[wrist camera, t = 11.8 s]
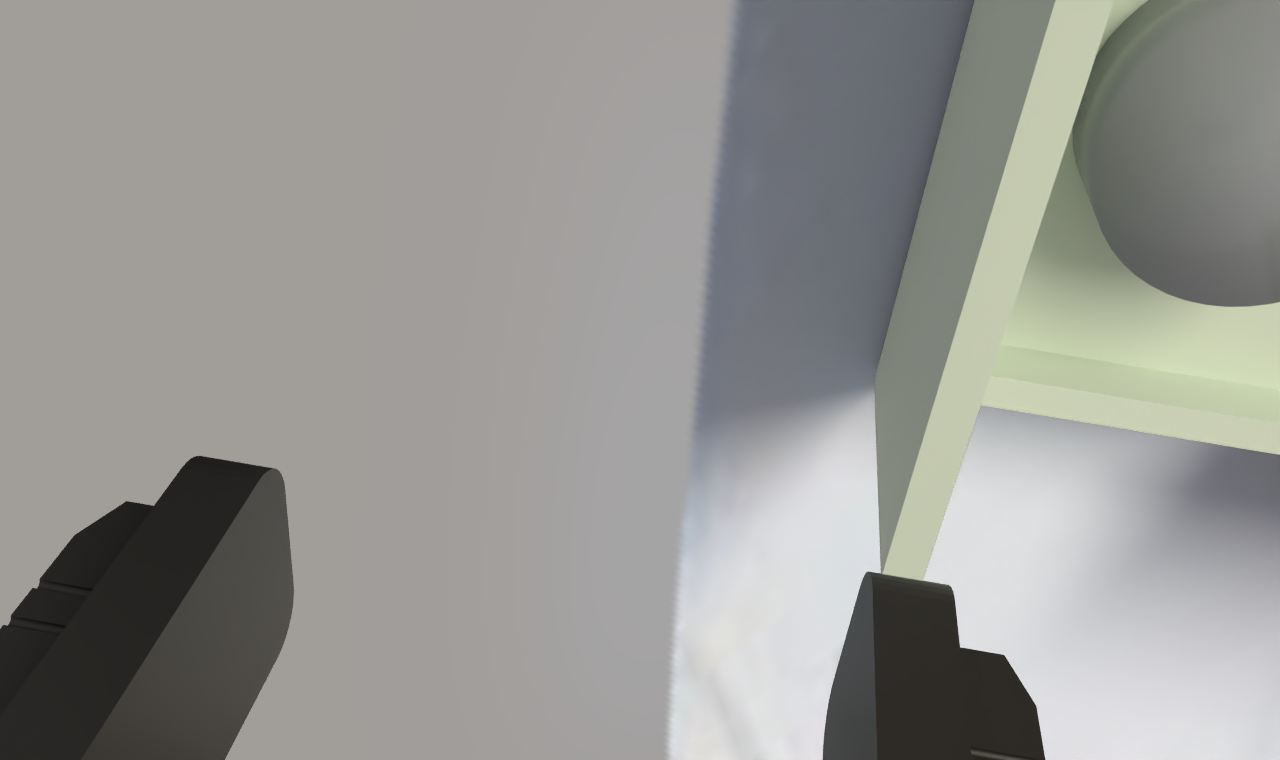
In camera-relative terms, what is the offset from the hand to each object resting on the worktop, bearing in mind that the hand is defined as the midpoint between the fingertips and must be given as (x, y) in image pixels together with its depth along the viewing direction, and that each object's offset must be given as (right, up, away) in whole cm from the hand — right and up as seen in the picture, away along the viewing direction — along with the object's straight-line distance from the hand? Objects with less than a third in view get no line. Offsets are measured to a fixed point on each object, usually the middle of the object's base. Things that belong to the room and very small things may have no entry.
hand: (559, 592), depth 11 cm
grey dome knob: (+12, +7, +13) cm, 19 cm away
